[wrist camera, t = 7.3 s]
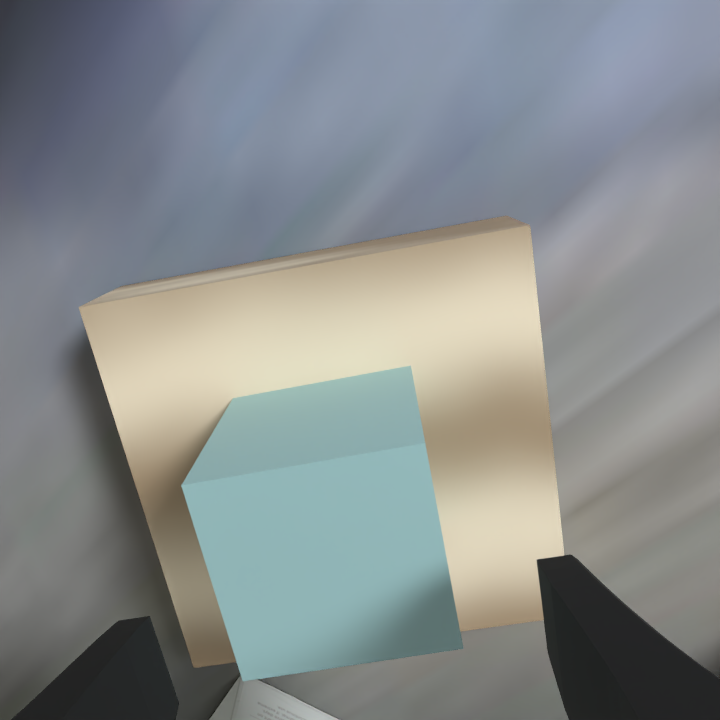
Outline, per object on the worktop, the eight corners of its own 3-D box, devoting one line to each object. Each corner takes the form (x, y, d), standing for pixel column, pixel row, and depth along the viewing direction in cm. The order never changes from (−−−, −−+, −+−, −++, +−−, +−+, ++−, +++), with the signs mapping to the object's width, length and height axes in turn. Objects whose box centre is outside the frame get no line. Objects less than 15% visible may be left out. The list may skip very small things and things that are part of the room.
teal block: (440, 524, 19) (463, 648, 14) (275, 551, 19) (242, 681, 14) (410, 365, 17) (425, 442, 13) (233, 398, 18) (181, 485, 13)
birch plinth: (545, 558, 22) (570, 616, 20) (215, 606, 23) (193, 667, 20) (506, 215, 19) (529, 225, 16) (121, 286, 20) (78, 307, 17)
